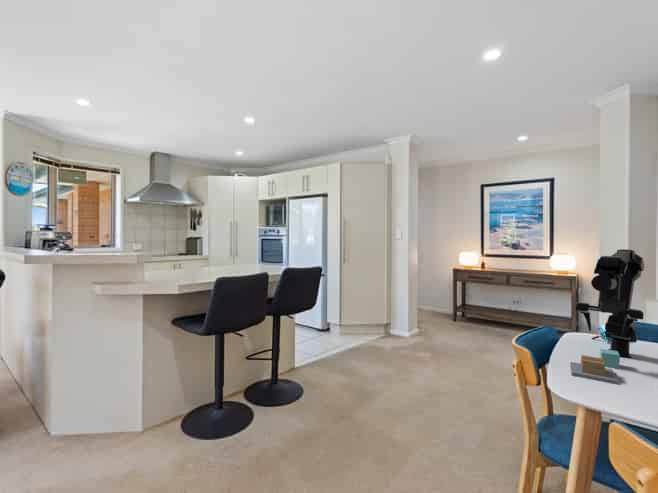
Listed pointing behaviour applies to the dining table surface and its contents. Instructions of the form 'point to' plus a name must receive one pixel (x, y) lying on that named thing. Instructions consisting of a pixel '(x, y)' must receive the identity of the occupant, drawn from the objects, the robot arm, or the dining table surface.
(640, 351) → the dining table surface
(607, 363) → the teal cube
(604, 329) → the stick construction toy
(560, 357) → the dining table surface
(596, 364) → the walnut base block
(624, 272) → the robot arm
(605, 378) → the slate board
